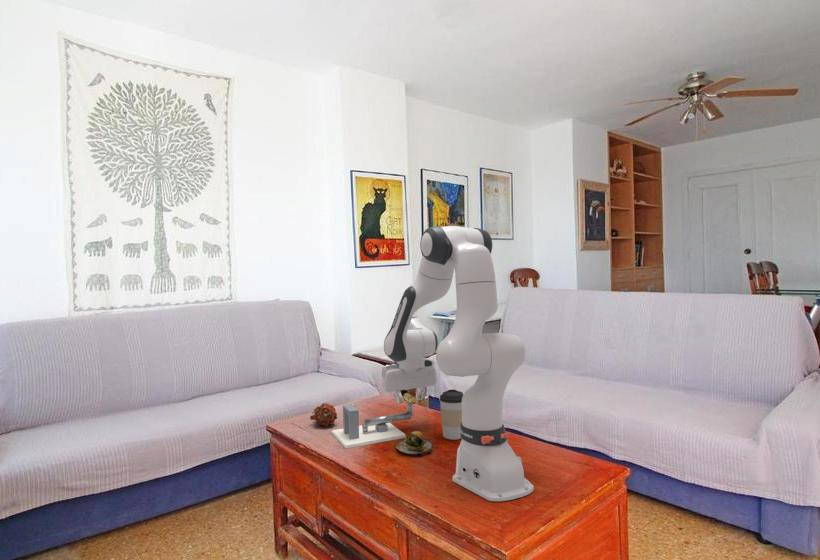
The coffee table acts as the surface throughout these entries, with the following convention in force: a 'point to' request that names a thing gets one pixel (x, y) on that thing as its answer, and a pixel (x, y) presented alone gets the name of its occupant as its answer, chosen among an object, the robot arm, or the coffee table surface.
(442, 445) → the coffee table surface
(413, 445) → the burger
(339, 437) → the board
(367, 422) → the hook
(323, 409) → the dragon fruit
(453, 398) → the coffee cup
